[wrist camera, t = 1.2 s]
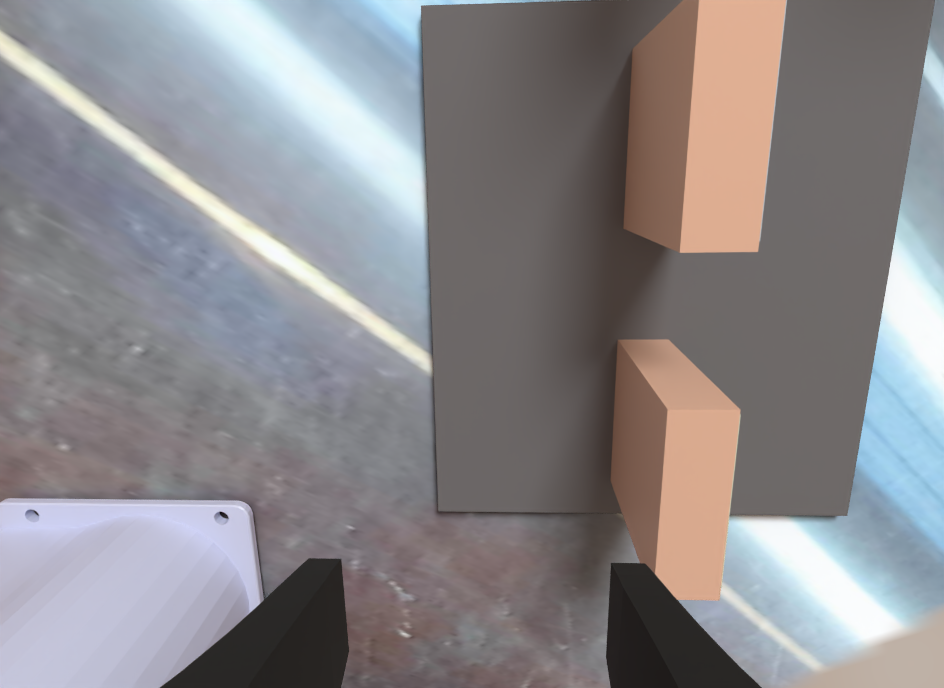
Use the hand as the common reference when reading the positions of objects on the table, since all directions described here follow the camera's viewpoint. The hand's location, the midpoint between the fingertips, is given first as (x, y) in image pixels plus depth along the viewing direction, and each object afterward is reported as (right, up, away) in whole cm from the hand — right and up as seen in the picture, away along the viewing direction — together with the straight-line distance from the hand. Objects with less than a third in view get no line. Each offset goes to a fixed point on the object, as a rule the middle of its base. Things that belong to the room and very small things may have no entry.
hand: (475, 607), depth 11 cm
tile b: (+5, +11, +7) cm, 14 cm away
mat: (+6, +7, +8) cm, 12 cm away
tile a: (+5, +3, +9) cm, 11 cm away
